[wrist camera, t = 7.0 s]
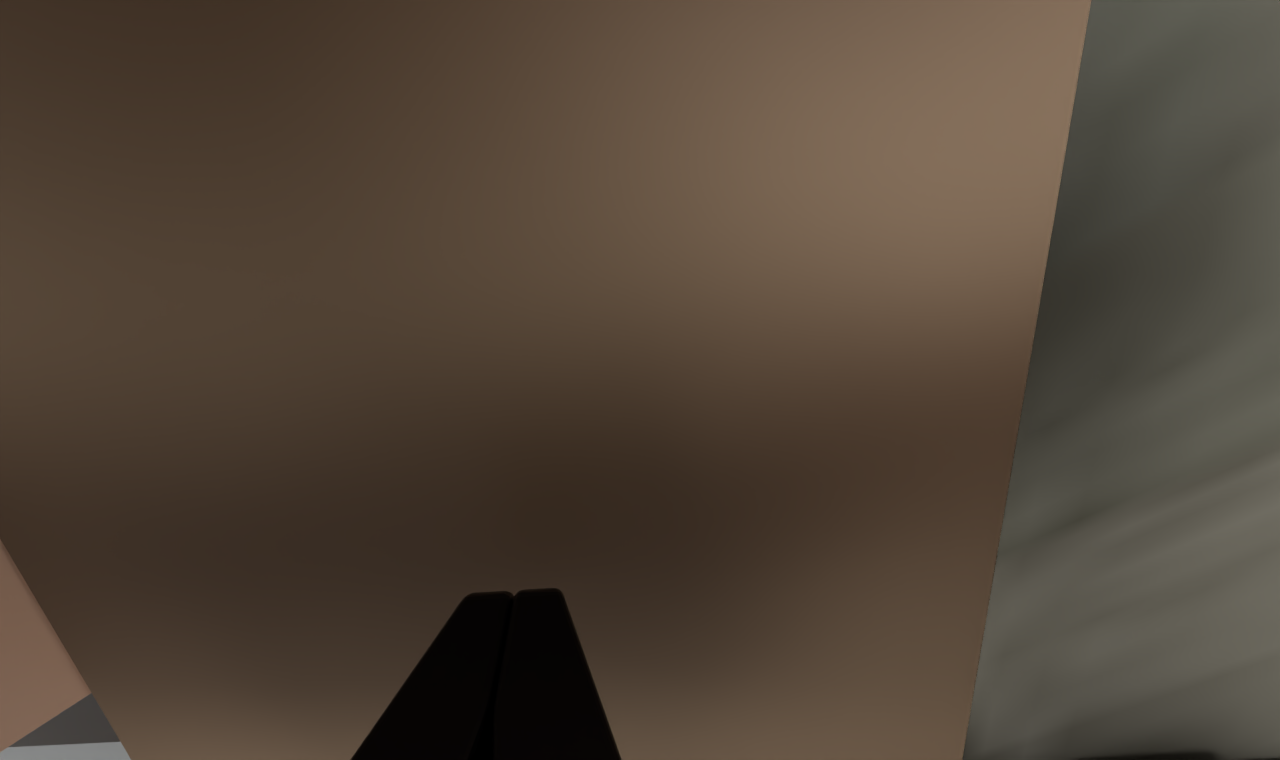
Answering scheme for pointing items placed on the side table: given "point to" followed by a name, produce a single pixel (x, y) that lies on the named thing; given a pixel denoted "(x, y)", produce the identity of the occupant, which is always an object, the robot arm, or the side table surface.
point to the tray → (71, 737)
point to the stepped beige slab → (524, 352)
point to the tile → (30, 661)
